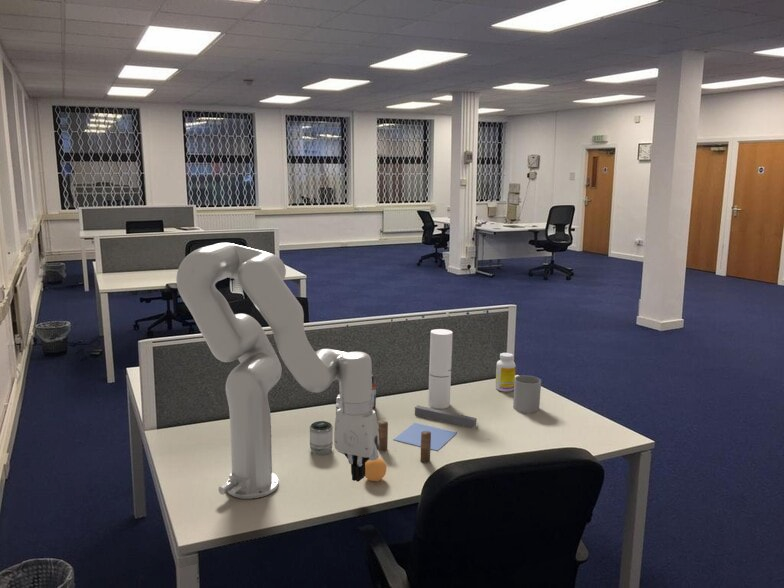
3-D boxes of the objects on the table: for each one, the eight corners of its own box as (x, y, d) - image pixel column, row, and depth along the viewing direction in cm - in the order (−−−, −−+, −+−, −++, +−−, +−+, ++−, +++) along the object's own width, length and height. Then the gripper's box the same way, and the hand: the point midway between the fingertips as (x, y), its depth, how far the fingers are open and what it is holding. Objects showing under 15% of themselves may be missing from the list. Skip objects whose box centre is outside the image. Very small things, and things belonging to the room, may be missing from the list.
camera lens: (305, 449, 175) (305, 422, 173) (324, 443, 179) (324, 417, 177) (318, 457, 170) (317, 430, 169) (337, 451, 174) (337, 424, 173)
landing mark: (437, 451, 175) (437, 450, 175) (393, 440, 182) (393, 439, 182) (457, 433, 187) (457, 432, 187) (414, 423, 194) (414, 422, 194)
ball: (378, 488, 155) (379, 465, 154) (357, 481, 158) (358, 459, 156) (390, 477, 160) (390, 455, 159) (370, 472, 163) (370, 450, 162)
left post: (384, 452, 174) (385, 425, 172) (376, 450, 175) (376, 423, 173) (389, 448, 176) (389, 422, 175) (380, 446, 177) (381, 420, 176)
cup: (511, 411, 205) (513, 382, 203) (514, 402, 213) (516, 374, 211) (538, 414, 203) (540, 385, 201) (540, 405, 210) (542, 377, 208)
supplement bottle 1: (354, 410, 204) (354, 376, 201) (361, 403, 209) (361, 371, 207) (372, 412, 202) (372, 379, 199) (378, 406, 207) (378, 373, 205)
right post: (427, 463, 168) (428, 435, 166) (418, 461, 169) (419, 433, 167) (431, 459, 170) (432, 432, 168) (422, 457, 171) (423, 430, 170)
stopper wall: (473, 428, 191) (474, 420, 191) (414, 414, 201) (415, 407, 200) (476, 425, 193) (476, 418, 192) (417, 412, 202) (417, 405, 202)
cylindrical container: (453, 403, 211) (456, 331, 206) (443, 410, 205) (446, 335, 200) (434, 399, 214) (437, 327, 209) (424, 405, 208) (426, 332, 203)
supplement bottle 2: (518, 390, 224) (520, 355, 222) (503, 393, 221) (505, 358, 218) (505, 384, 230) (507, 350, 227) (491, 387, 227) (493, 353, 224)
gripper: (320, 405, 146) (323, 478, 150) (376, 416, 139) (378, 493, 143) (338, 395, 153) (340, 465, 156) (392, 405, 146) (393, 478, 149)
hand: (358, 478), depth 149 cm, fingers closed
